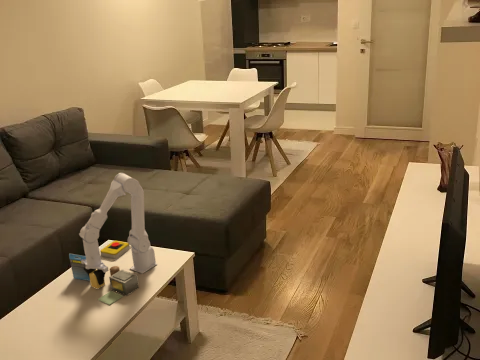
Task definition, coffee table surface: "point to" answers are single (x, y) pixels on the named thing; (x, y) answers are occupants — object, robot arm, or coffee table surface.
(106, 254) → the emergency button
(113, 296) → the pad
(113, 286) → the box
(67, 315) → the coffee table surface
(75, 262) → the label tape box
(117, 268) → the walnut cylinder
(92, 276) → the ochre block
